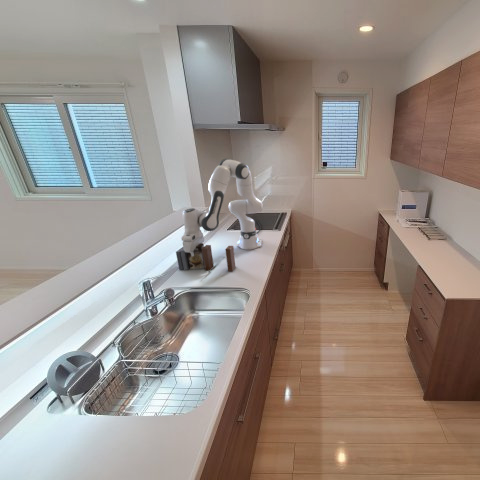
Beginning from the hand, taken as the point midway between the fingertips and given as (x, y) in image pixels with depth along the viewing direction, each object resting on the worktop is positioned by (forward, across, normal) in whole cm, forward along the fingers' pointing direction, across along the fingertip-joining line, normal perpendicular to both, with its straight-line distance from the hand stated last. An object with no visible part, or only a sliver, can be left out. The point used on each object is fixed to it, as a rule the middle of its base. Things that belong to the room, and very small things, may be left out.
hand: (196, 253), depth 165 cm
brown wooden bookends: (+10, +2, +16) cm, 19 cm away
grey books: (+10, 0, -8) cm, 13 cm away
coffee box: (+10, 0, 0) cm, 10 cm away
